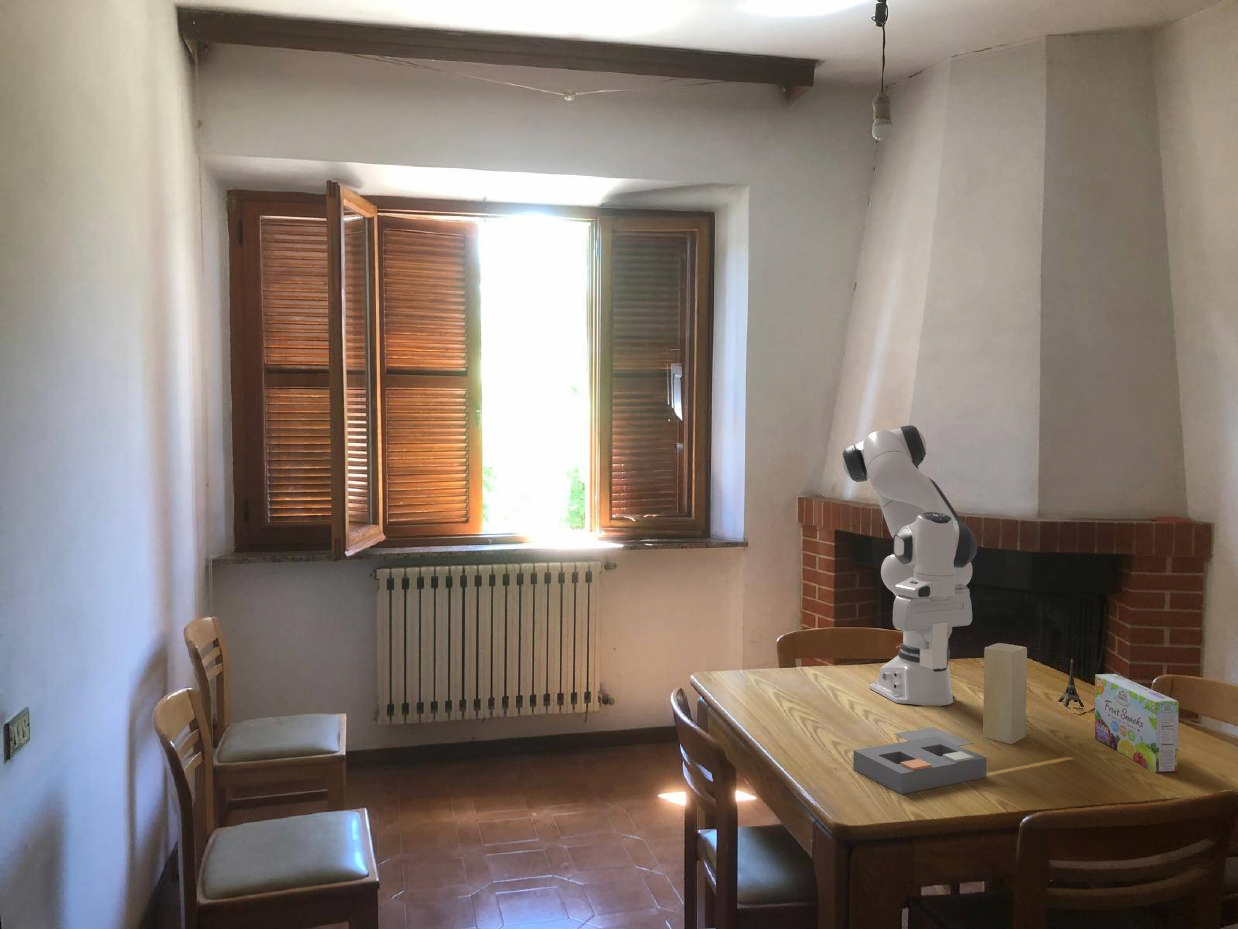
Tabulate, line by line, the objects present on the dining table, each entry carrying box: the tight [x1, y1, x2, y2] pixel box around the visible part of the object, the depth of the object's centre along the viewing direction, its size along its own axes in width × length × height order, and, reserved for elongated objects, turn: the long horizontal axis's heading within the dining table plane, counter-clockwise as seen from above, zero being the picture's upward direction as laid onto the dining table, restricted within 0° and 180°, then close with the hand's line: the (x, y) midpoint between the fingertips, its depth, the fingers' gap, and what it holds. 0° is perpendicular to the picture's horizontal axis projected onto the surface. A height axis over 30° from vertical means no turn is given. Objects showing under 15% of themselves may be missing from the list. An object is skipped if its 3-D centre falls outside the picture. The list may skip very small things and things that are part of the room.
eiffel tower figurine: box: [1055, 658, 1093, 707], centre depth 233 cm, size 15×10×13 cm
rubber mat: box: [894, 727, 974, 747], centre depth 205 cm, size 12×12×1 cm
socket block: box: [852, 736, 988, 795], centre depth 185 cm, size 14×22×4 cm, turn 115°
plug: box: [920, 623, 947, 669], centre depth 203 cm, size 4×4×10 cm
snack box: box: [1094, 673, 1180, 774], centre depth 197 cm, size 21×6×15 cm, turn 5°
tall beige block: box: [982, 642, 1028, 745], centre depth 207 cm, size 8×7×21 cm
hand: (932, 648), depth 203 cm, fingers closed on plug, 4 cm apart
